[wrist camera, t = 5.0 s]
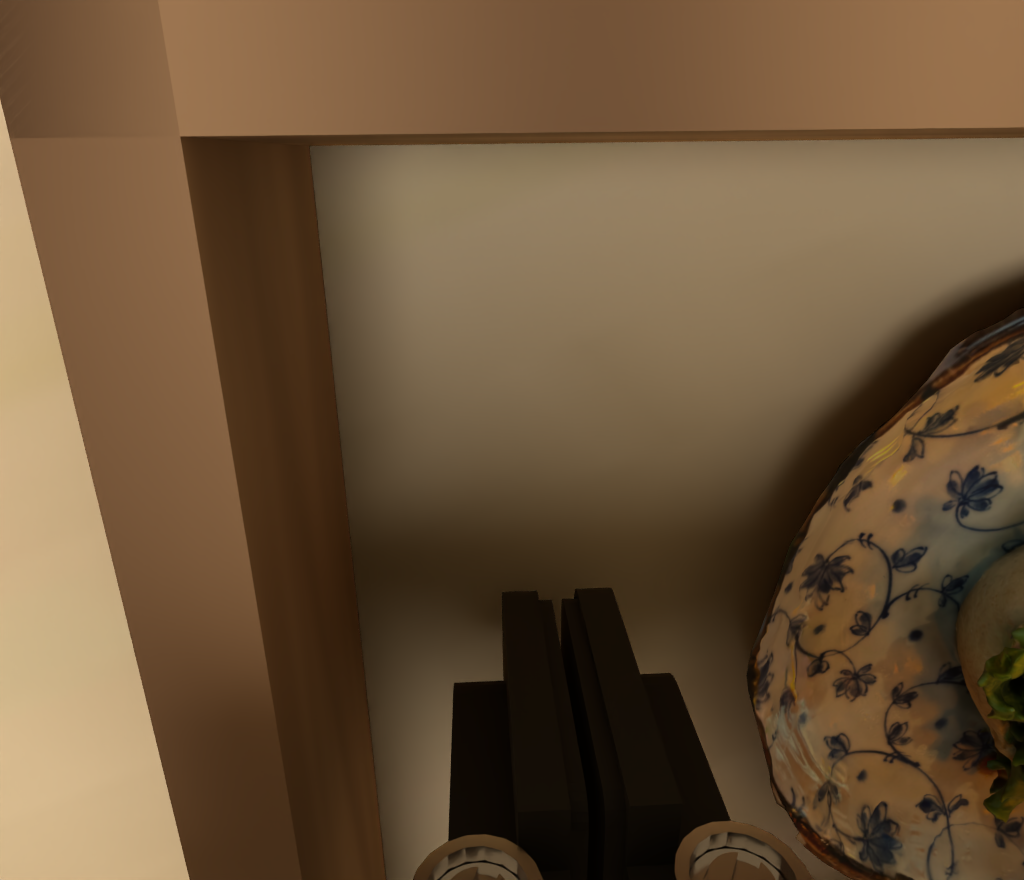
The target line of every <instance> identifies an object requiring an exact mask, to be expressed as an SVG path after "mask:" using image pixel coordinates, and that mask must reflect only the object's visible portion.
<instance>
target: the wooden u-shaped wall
mask: <svg viewBox="0 0 1024 880" xmlns="http://www.w3.org/2000/svg"><path fill="white" fill-rule="evenodd" d="M0 99H1V104H2V108H3V112H4V116H5V120H6V124H7V128H8V132H9V137H10V141H11V145H12V149H13V153H14V157H15V161H16V165H17V170H18V174H19V178H20V182H21V186H22V190H23V194H24V198H25V202H26V207H27V211H28V215H29V219H30V223H31V227H32V231H33V235H34V240H35V244H36V248H37V252H38V256H39V260H40V264H41V268H42V273H43V277H44V281H45V285H46V289H47V293H48V297H49V301H50V305H51V310H52V314H53V318H54V322H55V326H56V330H57V334H58V338H59V343H60V347H61V351H62V355H63V359H64V363H65V367H66V371H67V376H68V380H69V384H70V388H71V392H72V396H73V400H74V404H75V409H76V413H77V417H78V421H79V425H80V429H81V433H82V437H83V441H84V446H85V450H86V454H87V458H88V462H89V466H90V470H91V474H92V479H93V483H94V487H95V491H96V495H97V499H98V503H99V507H100V512H101V516H102V520H103V524H104V528H105V532H106V536H107V540H108V544H109V549H110V553H111V557H112V561H113V565H114V569H115V573H116V577H117V582H118V586H119V590H120V594H121V598H122V602H123V606H124V610H125V615H126V619H127V623H128V627H129V631H130V635H131V639H132V643H133V648H134V652H135V656H136V660H137V664H138V668H139V672H140V676H141V680H142V685H143V689H144V693H145V697H146V701H147V705H148V709H149V713H150V718H151V722H152V726H153V730H154V734H155V738H156V742H157V746H158V751H159V755H160V759H161V763H162V767H163V771H164V775H165V779H166V783H167V788H168V792H169V796H170V800H171V804H172V808H173V812H174V816H175V821H176V825H177V829H178V833H179V837H180V841H181V845H182V849H183V854H184V858H185V862H186V866H187V870H188V874H189V878H190V880H386V875H385V866H384V856H383V847H382V837H381V828H380V818H379V809H378V799H377V789H376V780H375V770H374V761H373V751H372V742H371V732H370V723H369V713H368V704H367V694H366V684H365V675H364V665H363V656H362V646H361V637H360V627H359V618H358V608H357V598H356V589H355V579H354V570H353V560H352V551H351V541H350V532H349V522H348V513H347V503H346V493H345V484H344V474H343V465H342V455H341V446H340V436H339V427H338V417H337V408H336V398H335V388H334V379H333V369H332V360H331V350H330V341H329V331H328V322H327V312H326V302H325V293H324V283H323V274H322V264H321V255H320V245H319V236H318V226H317V217H316V207H315V197H314V188H313V178H312V169H311V159H310V150H309V146H331V145H419V144H506V143H594V142H681V141H769V140H856V139H944V138H1024V0H0Z"/></svg>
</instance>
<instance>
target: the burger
mask: <svg viewBox="0 0 1024 880" xmlns="http://www.w3.org/2000/svg"><path fill="white" fill-rule="evenodd" d="M747 683H748V691H749V695H750V699H751V703H752V707H753V711H754V714H755V718H756V722H757V726H758V729H759V733H760V737H761V741H762V745H763V749H764V753H765V757H766V761H767V765H768V769H769V773H770V782H771V787H772V790H773V794H774V797H775V800H776V803H777V804H778V805H780V806H781V807H783V808H784V809H785V810H786V811H787V813H788V814H789V816H790V818H791V819H792V821H793V823H794V824H795V826H796V828H797V830H798V831H799V833H798V835H797V837H796V839H797V840H798V841H800V842H801V843H802V844H803V845H804V846H805V847H806V848H807V849H808V850H809V851H810V852H812V853H813V854H814V855H815V856H817V857H818V858H819V859H820V860H821V861H822V862H824V863H826V864H827V865H829V866H831V867H833V868H834V869H836V870H837V871H839V872H841V873H842V874H844V875H846V876H847V877H849V878H851V879H853V880H1024V308H1021V309H1019V310H1017V311H1015V312H1014V313H1012V314H1011V315H1010V316H1008V317H1007V318H1005V319H1004V320H1002V321H1000V322H998V323H996V324H994V325H992V326H990V327H988V328H986V329H984V330H980V331H977V332H975V333H973V334H972V335H970V336H969V337H967V338H966V339H964V340H963V341H962V342H960V343H959V344H957V345H956V346H954V347H953V348H952V349H951V350H950V351H949V352H948V354H947V355H946V356H945V358H944V359H943V360H942V362H941V363H940V364H939V366H938V367H937V368H936V370H935V371H934V372H933V374H932V375H931V376H930V378H929V379H928V380H927V381H926V382H925V383H924V384H923V386H922V387H921V388H920V389H919V390H918V391H917V392H916V393H915V394H914V395H913V396H912V397H911V398H910V399H909V400H908V402H907V403H906V404H905V405H904V406H903V407H902V408H901V409H900V410H899V411H898V412H897V413H896V414H895V415H894V416H893V417H892V418H891V419H890V420H888V421H887V422H886V423H885V424H883V425H882V426H881V427H880V428H878V429H877V430H876V431H875V432H874V433H872V434H871V435H870V436H869V437H867V438H866V439H865V440H864V441H863V442H861V443H860V444H859V445H858V447H857V448H856V449H855V450H854V451H853V452H852V453H851V454H850V455H849V456H848V458H847V459H846V460H845V461H844V462H843V463H842V464H841V465H840V466H839V468H838V470H837V473H836V474H835V476H834V477H833V479H832V480H831V482H830V483H829V485H828V486H827V487H826V489H825V490H824V491H823V493H822V494H821V496H820V497H819V498H818V500H817V502H816V503H815V505H814V507H813V509H812V510H811V512H810V514H809V515H808V517H807V519H806V520H805V522H804V524H803V525H802V527H801V529H800V530H799V532H798V533H797V535H796V536H795V538H794V539H793V541H792V542H791V544H790V547H789V550H788V553H787V556H786V558H785V561H784V564H783V567H782V571H781V574H780V577H779V580H778V583H777V587H776V590H775V593H774V596H773V598H772V601H771V603H770V606H769V609H768V611H767V614H766V617H765V619H764V622H763V624H762V626H761V629H760V631H759V634H758V636H757V639H756V641H755V644H754V646H753V649H752V651H751V655H750V660H749V665H748V670H747Z"/></svg>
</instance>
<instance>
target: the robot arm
mask: <svg viewBox="0 0 1024 880" xmlns="http://www.w3.org/2000/svg"><path fill="white" fill-rule="evenodd" d="M502 630H503V677H504V681H485V682H463V683H454V691H453V719H452V749H451V779H450V809H449V839H448V842H446V843H445V844H443V845H442V846H440V847H439V848H437V849H436V850H434V851H433V852H432V853H430V854H429V855H428V857H427V858H426V859H425V860H424V861H423V863H422V864H421V865H420V866H419V868H418V869H417V871H416V873H415V875H414V878H413V880H814V879H813V878H812V876H811V875H810V873H809V871H808V870H807V868H806V867H805V865H804V864H803V863H802V862H801V860H800V859H799V858H798V857H797V856H796V854H795V853H794V852H793V851H792V850H791V848H790V847H788V846H787V845H786V844H784V843H783V842H782V841H780V840H779V839H778V838H776V837H775V836H774V835H772V834H770V833H768V832H766V831H764V830H762V829H760V828H757V827H755V826H753V825H749V824H745V823H740V822H735V821H731V820H730V817H729V815H728V812H727V810H726V807H725V805H724V802H723V800H722V797H721V794H720V792H719V789H718V787H717V784H716V782H715V779H714V777H713V774H712V771H711V769H710V766H709V764H708V761H707V759H706V756H705V754H704V751H703V748H702V746H701V743H700V741H699V738H698V736H697V733H696V731H695V728H694V725H693V723H692V720H691V718H690V715H689V713H688V710H687V708H686V705H685V702H684V700H683V697H682V695H681V692H680V690H679V687H678V685H677V682H676V680H675V678H674V676H673V675H671V674H670V673H660V674H640V672H639V669H638V666H637V663H636V660H635V657H634V654H633V651H632V648H631V645H630V642H629V639H628V636H627V632H626V629H625V626H624V623H623V620H622V617H621V614H620V611H619V608H618V605H617V602H616V599H615V596H614V593H613V590H612V588H588V589H575V593H574V599H562V604H561V647H560V642H559V636H558V631H557V625H556V620H555V614H554V609H553V603H552V600H539V598H538V592H537V591H514V592H502Z"/></svg>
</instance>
